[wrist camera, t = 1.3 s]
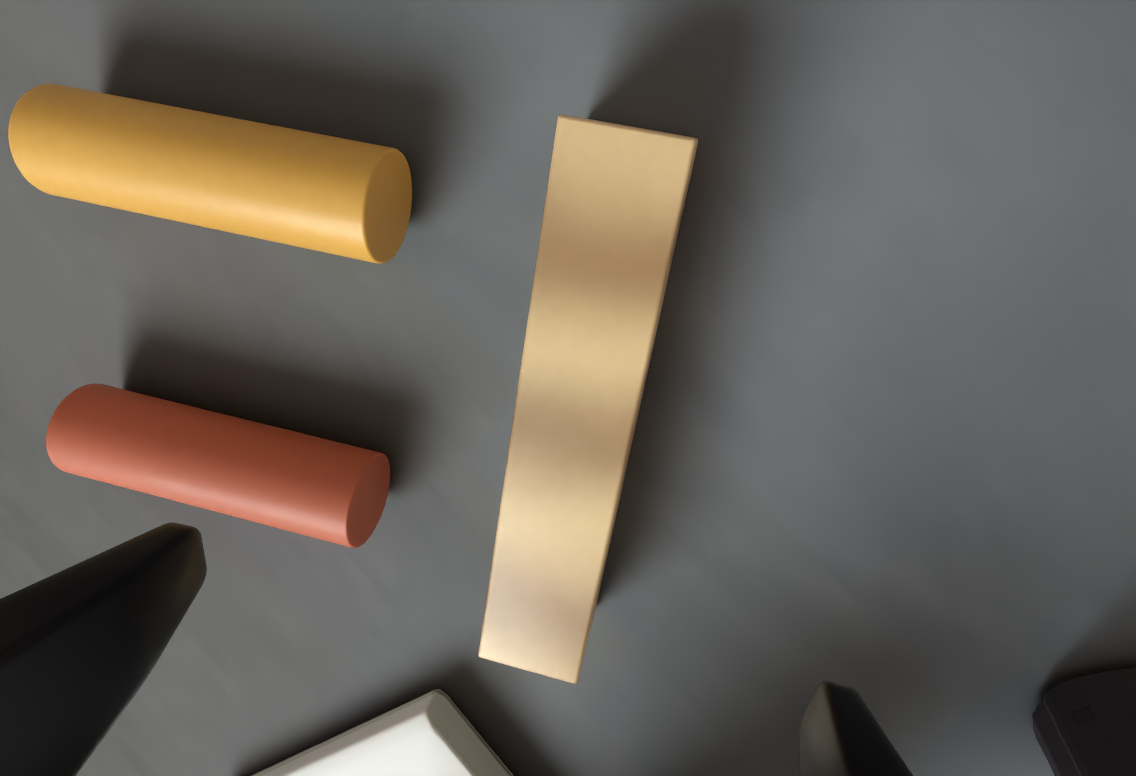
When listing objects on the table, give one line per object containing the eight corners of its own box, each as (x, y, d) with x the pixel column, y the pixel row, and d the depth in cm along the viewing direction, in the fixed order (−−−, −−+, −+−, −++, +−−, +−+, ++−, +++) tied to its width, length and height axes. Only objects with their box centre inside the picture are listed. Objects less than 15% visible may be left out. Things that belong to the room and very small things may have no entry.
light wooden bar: (595, 609, 23) (576, 685, 20) (509, 586, 24) (477, 658, 20) (698, 138, 18) (696, 138, 15) (584, 118, 18) (557, 113, 15)
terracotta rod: (387, 517, 24) (344, 567, 21) (124, 449, 25) (50, 488, 22) (394, 437, 23) (349, 480, 20) (118, 371, 24) (39, 402, 21)
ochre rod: (408, 254, 20) (360, 273, 18) (103, 191, 22) (14, 199, 19) (417, 147, 19) (367, 149, 16) (96, 86, 20) (-1, 79, 18)
